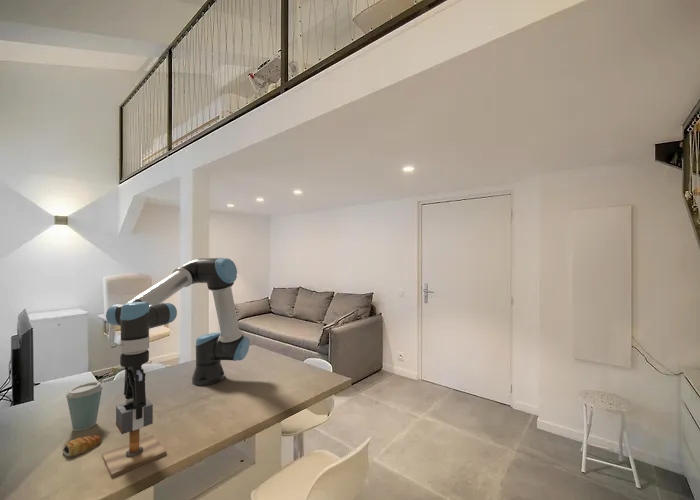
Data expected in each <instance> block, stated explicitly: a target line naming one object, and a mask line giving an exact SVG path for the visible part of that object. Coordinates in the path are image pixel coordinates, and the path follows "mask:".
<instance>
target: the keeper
mask: <svg viewBox="0 0 700 500" xmlns="http://www.w3.org/2000/svg"><path fill="white" fill-rule="evenodd" d="M128 434H129V436H128V437H129V441H128V443H127V444H124V445H121V446H119V447H117V448H114V449H112V450H109V451H106V452H103V453H102V454H101V457H102V460H103V462H104V465H105V466H106V469H107V470H108V473H109V475H110V477H111V478H115V477H117V476H120V475H122V474H124V473H126V472H129V471H131V470H133V469H136V468H138V467H141V466H142V465H145V464H148V463H149V462H152V461H155V460H156V459H159V458H161V457H164V456H166V455H167V450H166V448H165V447H164V446H163V445H162V444H161V443H160V441H159V440H158V439H157V438H156V436H155V435H154V434H150V435H147V436H145V437H142V438H140V429H137V430H134V431H130V432H128Z"/></svg>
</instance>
